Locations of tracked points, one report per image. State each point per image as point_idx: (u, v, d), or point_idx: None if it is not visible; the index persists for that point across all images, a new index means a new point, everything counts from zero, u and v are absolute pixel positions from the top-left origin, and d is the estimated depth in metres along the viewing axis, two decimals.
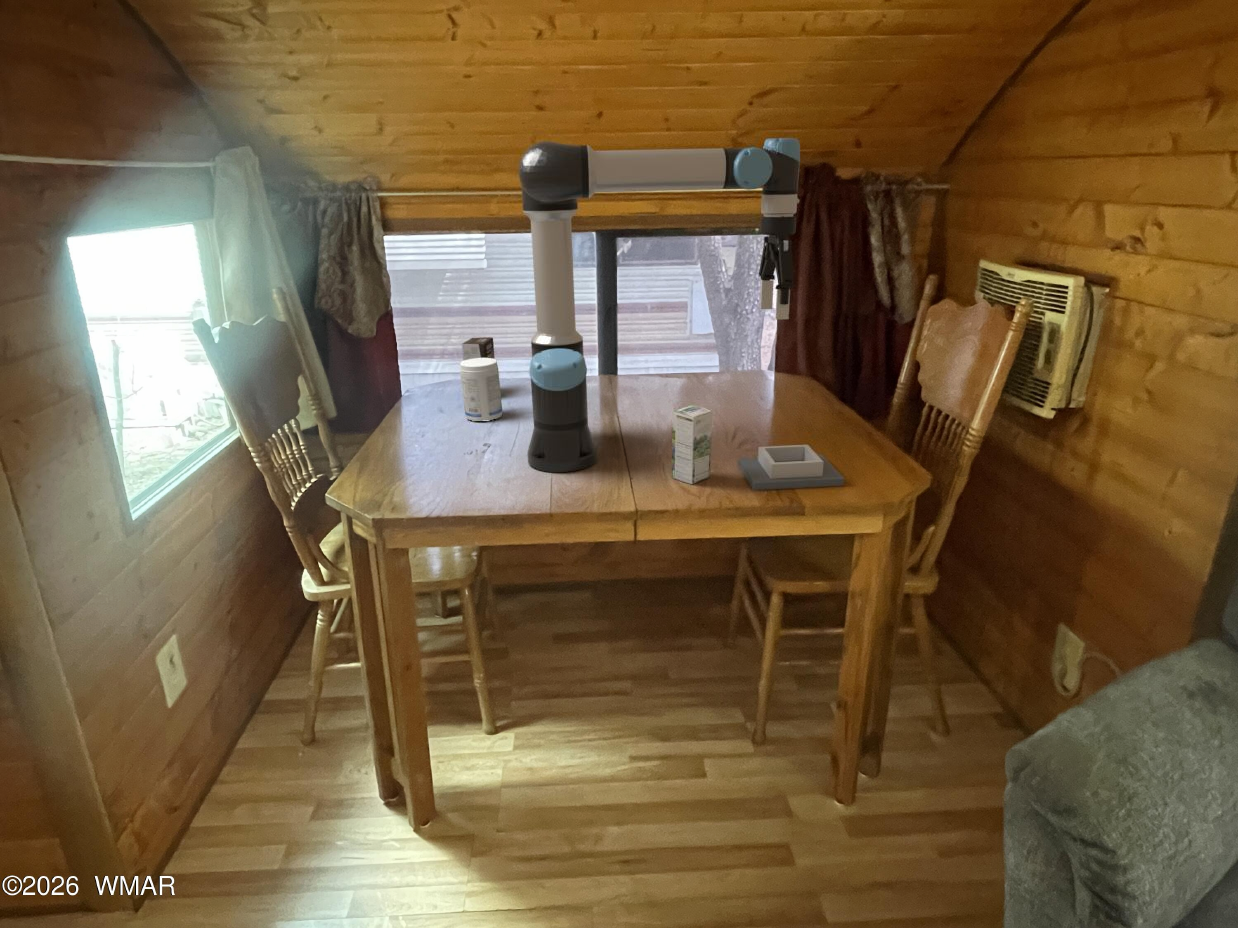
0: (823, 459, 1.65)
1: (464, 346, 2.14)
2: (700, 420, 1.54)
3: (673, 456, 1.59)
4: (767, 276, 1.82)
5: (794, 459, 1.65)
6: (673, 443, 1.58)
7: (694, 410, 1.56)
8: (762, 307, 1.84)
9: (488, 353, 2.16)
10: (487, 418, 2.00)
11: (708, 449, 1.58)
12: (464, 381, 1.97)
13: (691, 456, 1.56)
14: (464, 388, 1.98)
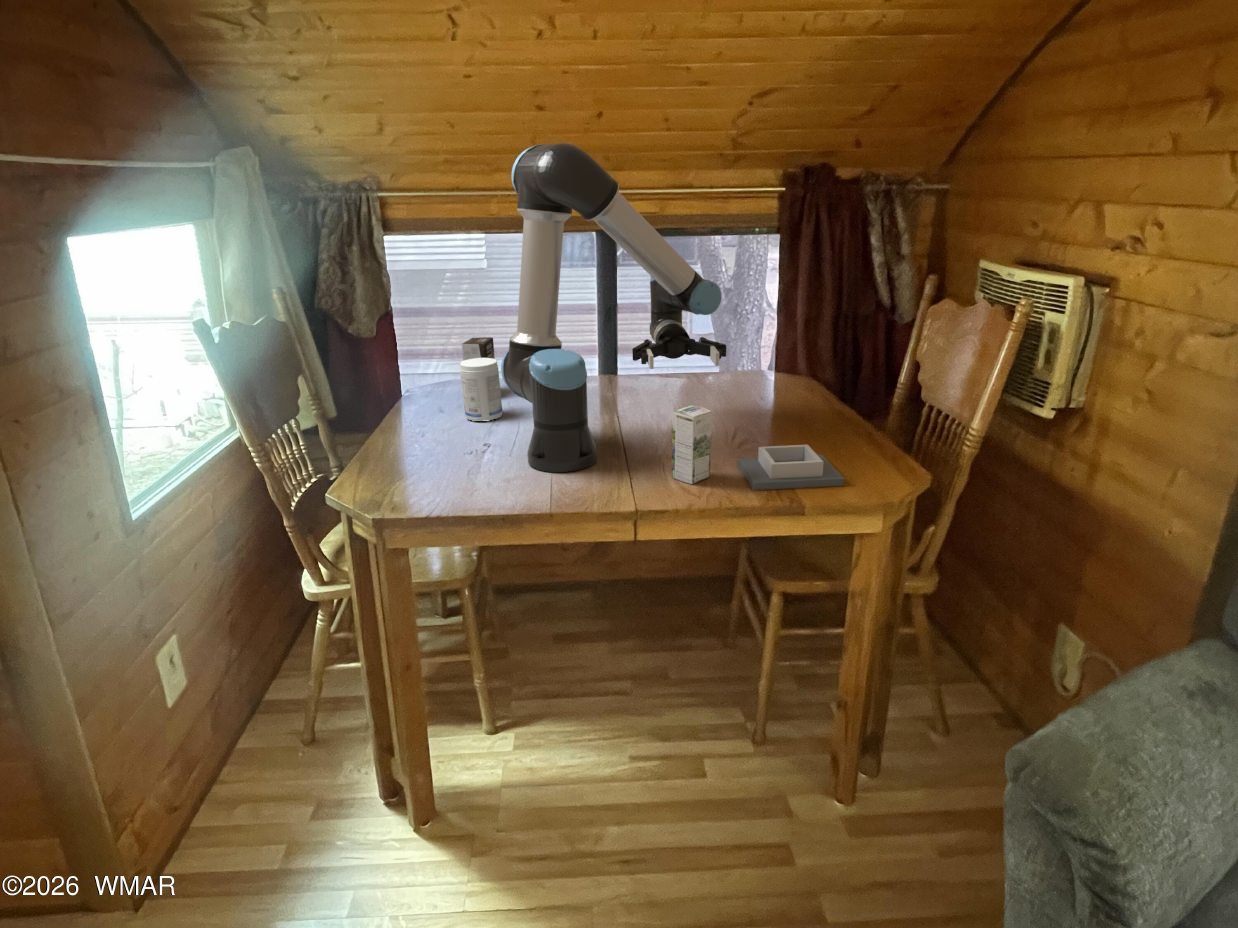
0: (823, 459, 1.65)
1: (464, 346, 2.14)
2: (700, 420, 1.54)
3: (673, 456, 1.59)
4: None
5: (794, 459, 1.65)
6: (673, 443, 1.58)
7: (694, 410, 1.56)
8: (653, 357, 1.62)
9: (488, 353, 2.16)
10: (487, 418, 2.00)
11: (708, 449, 1.58)
12: (464, 381, 1.97)
13: (691, 456, 1.56)
14: (464, 388, 1.98)
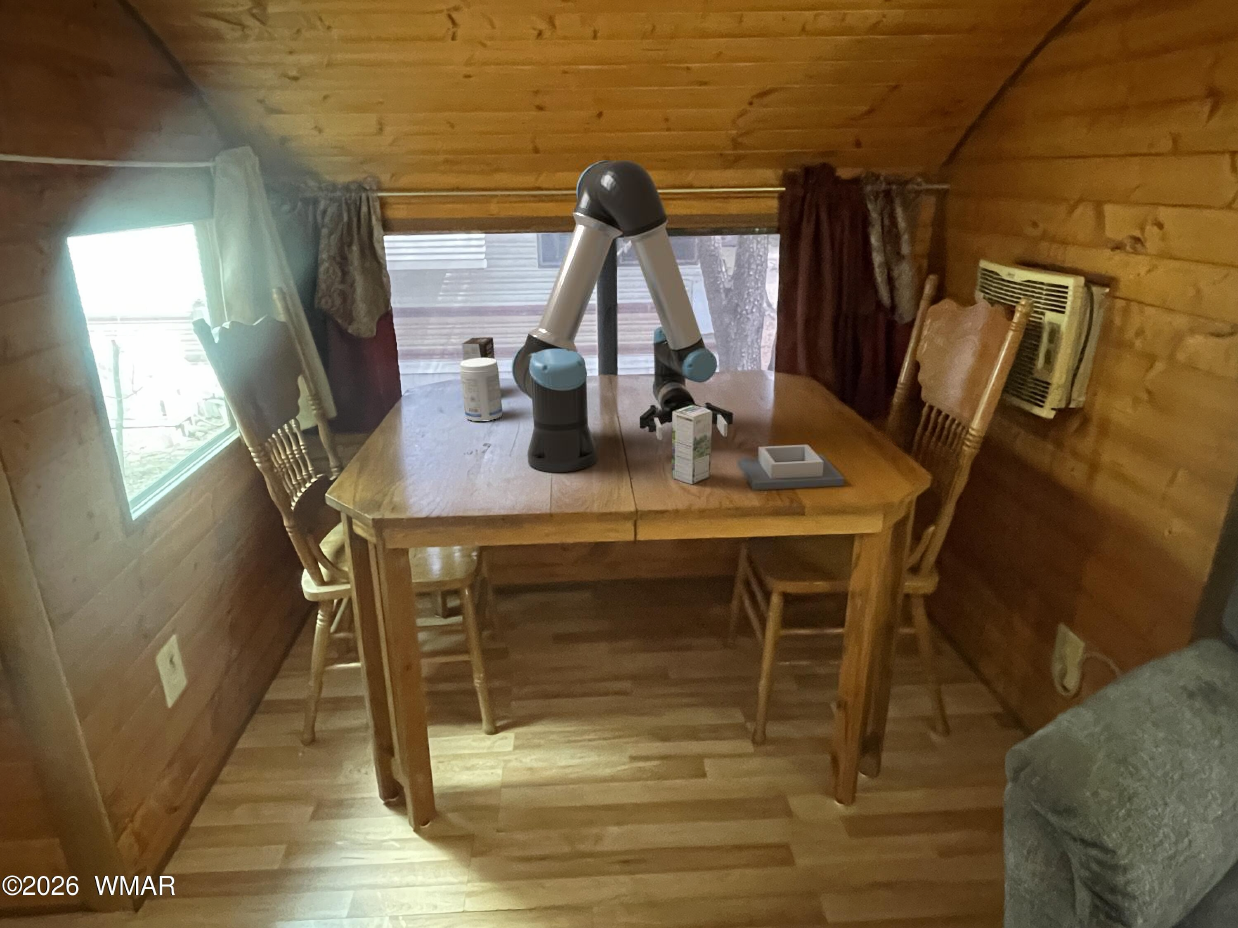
0: (823, 459, 1.65)
1: (464, 346, 2.14)
2: (700, 420, 1.54)
3: (673, 456, 1.59)
4: None
5: (794, 459, 1.65)
6: (673, 443, 1.58)
7: (694, 410, 1.56)
8: None
9: (488, 353, 2.16)
10: (487, 418, 2.00)
11: (708, 449, 1.58)
12: (464, 381, 1.97)
13: (691, 456, 1.56)
14: (464, 388, 1.98)
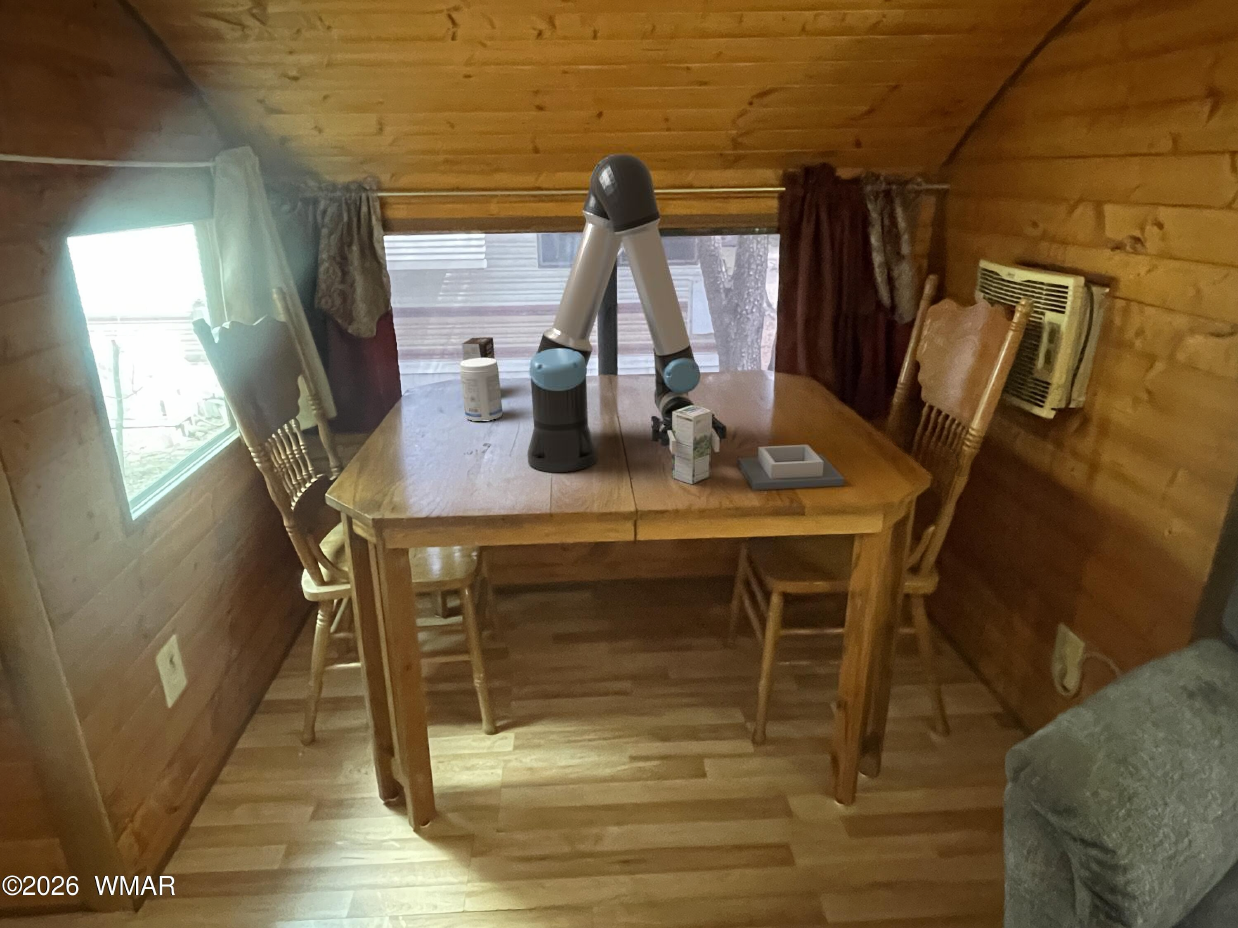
0: (823, 459, 1.65)
1: (464, 346, 2.14)
2: (700, 420, 1.54)
3: (673, 456, 1.59)
4: None
5: (794, 459, 1.65)
6: None
7: (694, 410, 1.56)
8: None
9: (488, 353, 2.16)
10: (487, 418, 2.00)
11: (708, 449, 1.58)
12: (464, 381, 1.97)
13: (691, 456, 1.56)
14: (464, 388, 1.98)
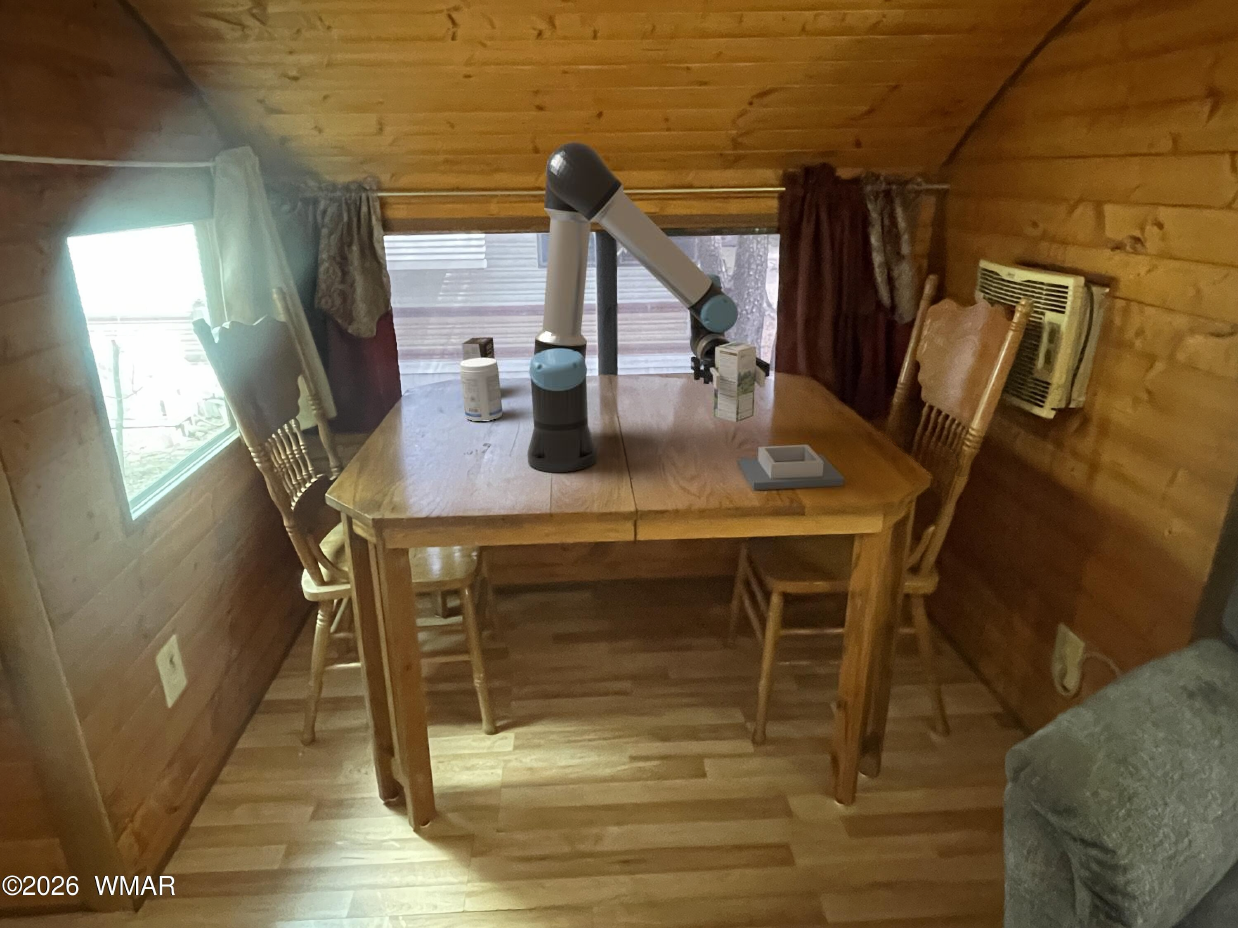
0: (823, 459, 1.65)
1: (464, 346, 2.14)
2: (744, 355, 1.50)
3: (716, 394, 1.55)
4: None
5: (794, 459, 1.65)
6: None
7: (738, 345, 1.51)
8: None
9: (488, 353, 2.16)
10: (487, 418, 2.00)
11: (752, 386, 1.54)
12: (464, 381, 1.97)
13: (735, 392, 1.52)
14: (464, 388, 1.98)
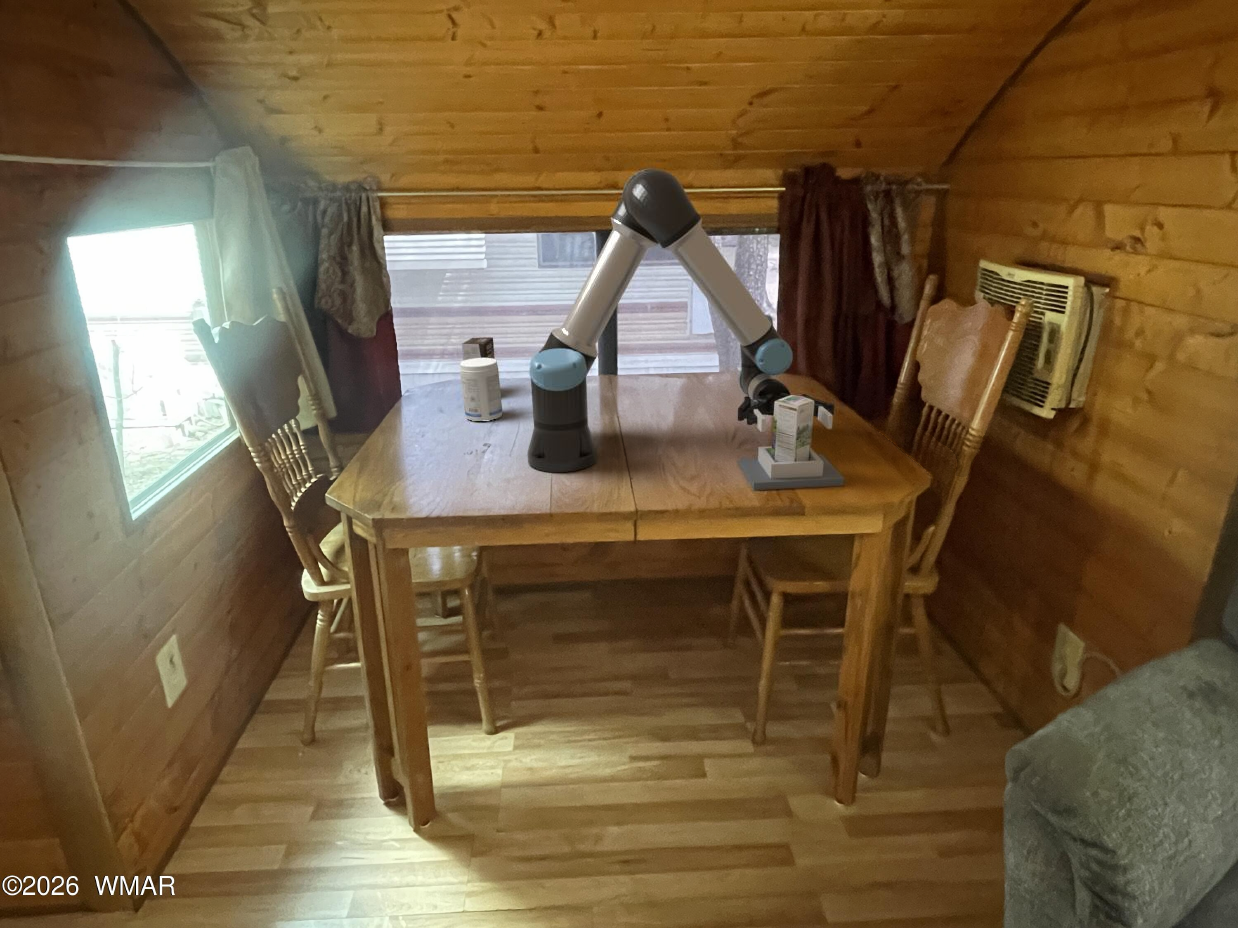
0: (823, 459, 1.65)
1: (464, 346, 2.14)
2: (803, 409, 1.54)
3: (773, 446, 1.59)
4: None
5: None
6: (774, 433, 1.58)
7: (797, 400, 1.55)
8: None
9: (488, 353, 2.16)
10: (487, 418, 2.00)
11: (809, 439, 1.58)
12: (464, 381, 1.97)
13: (793, 446, 1.56)
14: (464, 388, 1.98)
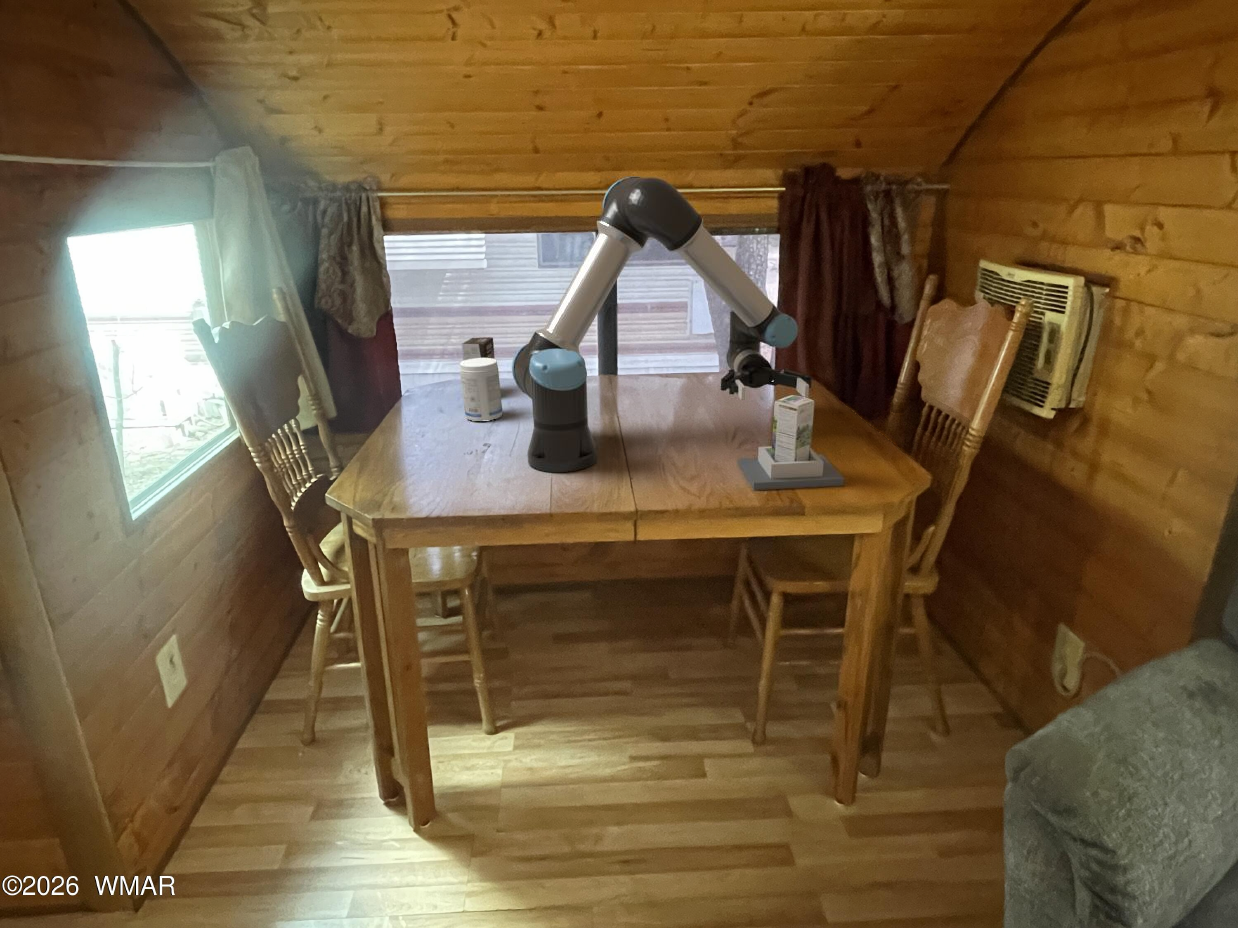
0: (823, 459, 1.65)
1: (464, 346, 2.14)
2: (804, 409, 1.54)
3: (773, 446, 1.59)
4: None
5: None
6: (774, 433, 1.58)
7: (797, 400, 1.55)
8: None
9: (488, 353, 2.16)
10: (487, 418, 2.00)
11: (809, 439, 1.58)
12: (464, 381, 1.97)
13: (793, 446, 1.56)
14: (464, 388, 1.98)
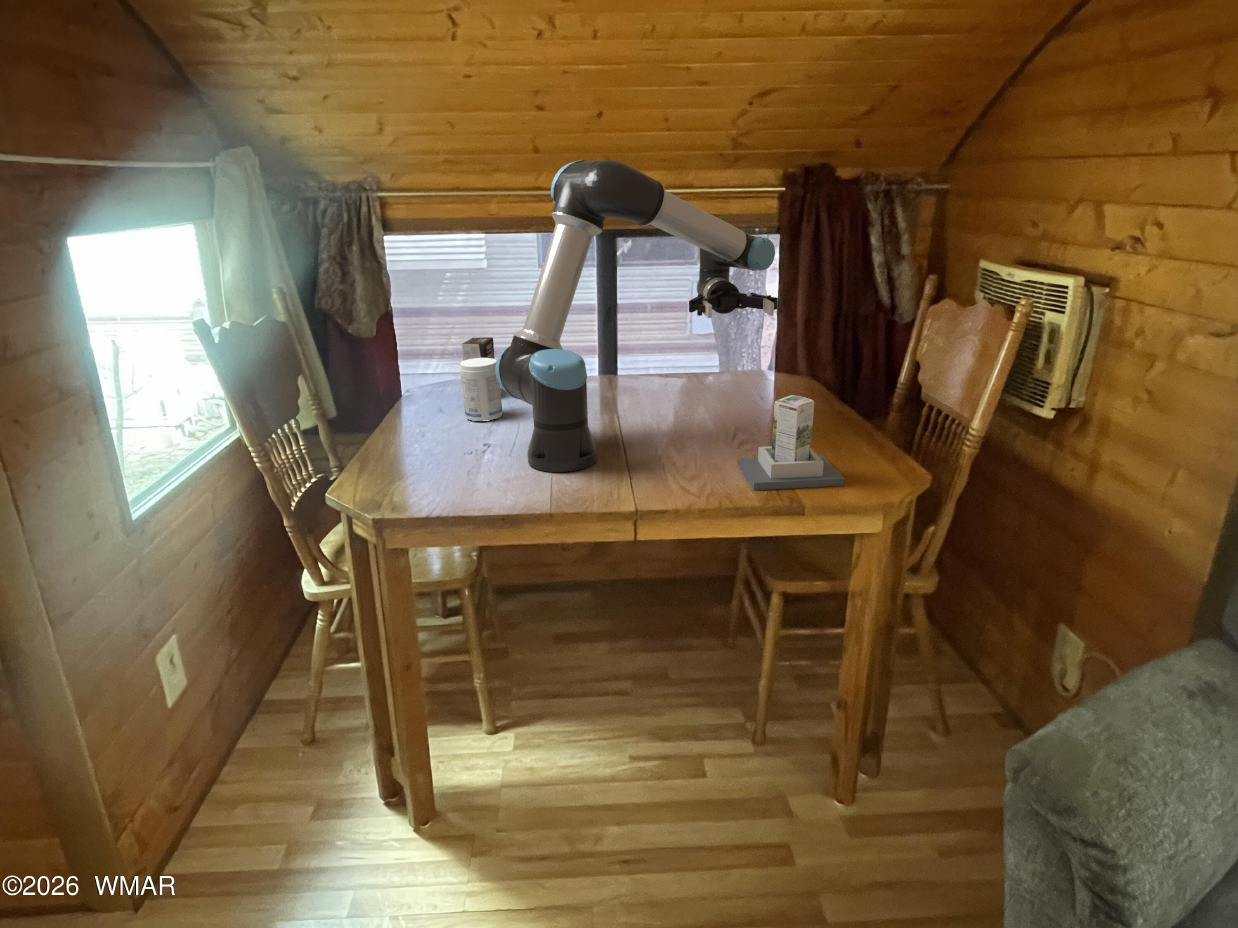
0: (823, 459, 1.65)
1: (464, 346, 2.14)
2: (804, 409, 1.54)
3: (773, 446, 1.59)
4: None
5: None
6: (774, 433, 1.58)
7: (797, 400, 1.55)
8: None
9: (488, 353, 2.16)
10: (487, 418, 2.00)
11: (809, 439, 1.58)
12: (464, 381, 1.97)
13: (793, 446, 1.56)
14: (464, 388, 1.98)
